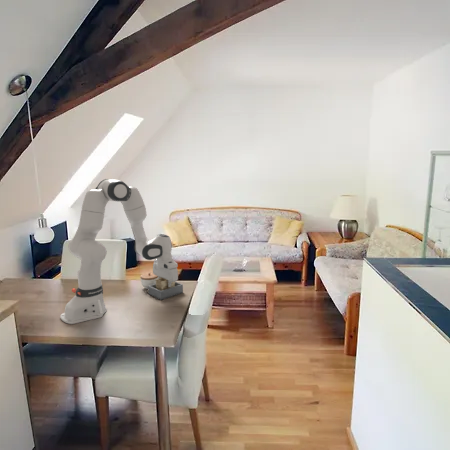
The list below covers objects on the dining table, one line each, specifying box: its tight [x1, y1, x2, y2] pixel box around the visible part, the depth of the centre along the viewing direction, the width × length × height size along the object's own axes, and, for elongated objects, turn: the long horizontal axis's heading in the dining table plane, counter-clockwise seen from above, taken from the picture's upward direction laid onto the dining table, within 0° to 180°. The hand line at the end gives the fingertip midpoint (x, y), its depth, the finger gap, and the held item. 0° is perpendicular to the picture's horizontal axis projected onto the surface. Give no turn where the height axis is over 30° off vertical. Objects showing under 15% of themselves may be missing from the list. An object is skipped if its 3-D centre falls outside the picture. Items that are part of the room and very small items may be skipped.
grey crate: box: [147, 281, 184, 301], centre depth 230 cm, size 15×12×5 cm
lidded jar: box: [139, 271, 158, 290], centre depth 240 cm, size 11×11×9 cm
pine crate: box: [156, 278, 176, 291], centre depth 229 cm, size 9×6×6 cm, turn 134°
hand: (165, 285), depth 230 cm, fingers closed on pine crate, 6 cm apart
